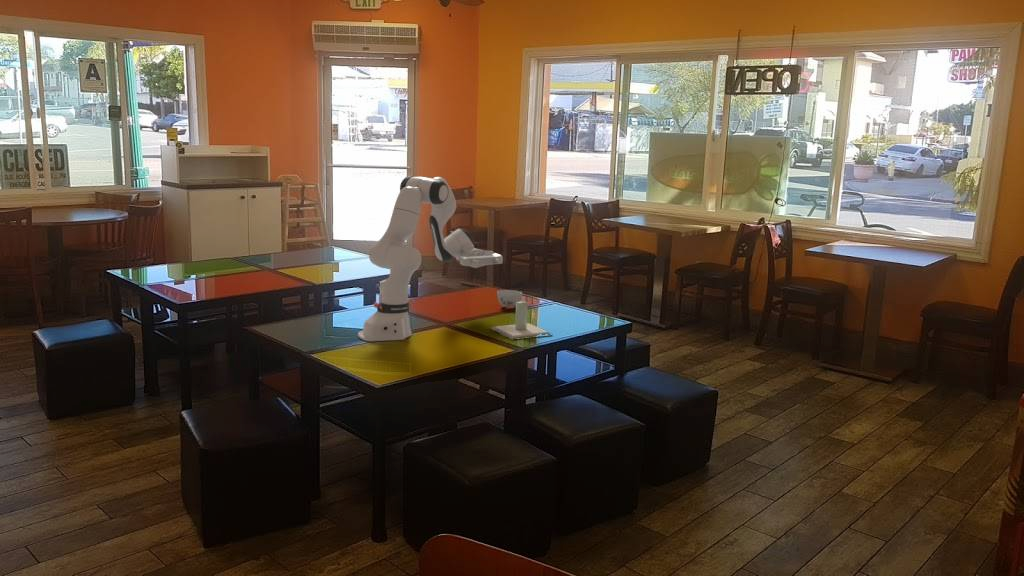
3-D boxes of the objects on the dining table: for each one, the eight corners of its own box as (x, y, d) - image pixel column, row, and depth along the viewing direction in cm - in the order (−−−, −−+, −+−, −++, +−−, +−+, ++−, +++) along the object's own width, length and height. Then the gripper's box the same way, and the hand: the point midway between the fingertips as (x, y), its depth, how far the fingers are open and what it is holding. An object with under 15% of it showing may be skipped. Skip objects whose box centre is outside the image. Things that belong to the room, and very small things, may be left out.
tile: (511, 340, 333) (511, 336, 332) (490, 329, 350) (490, 326, 350) (552, 335, 342) (552, 332, 342) (529, 325, 359) (529, 322, 359)
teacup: (513, 311, 386) (513, 295, 385) (491, 308, 393) (492, 292, 391) (528, 306, 399) (529, 290, 397) (507, 303, 405) (508, 287, 404)
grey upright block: (518, 330, 342) (519, 303, 340) (513, 328, 347) (514, 301, 344) (528, 329, 345) (529, 302, 342) (523, 327, 349) (524, 300, 347)
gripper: (455, 252, 362) (467, 257, 350) (494, 250, 372) (508, 254, 360) (454, 266, 363) (467, 271, 352) (494, 263, 373) (508, 268, 361)
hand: (488, 262), depth 356 cm, fingers open, 8 cm apart
